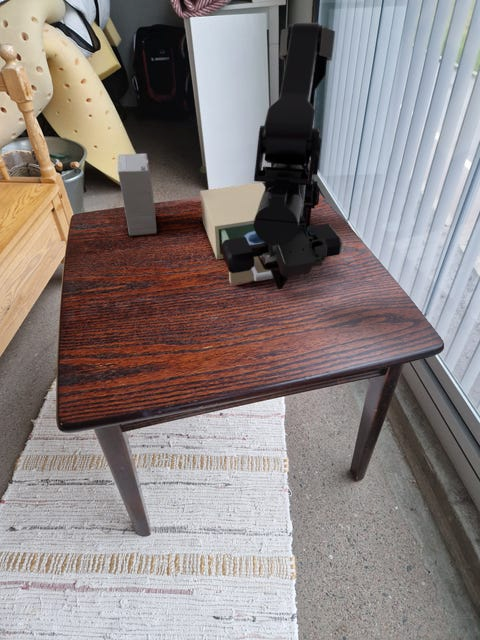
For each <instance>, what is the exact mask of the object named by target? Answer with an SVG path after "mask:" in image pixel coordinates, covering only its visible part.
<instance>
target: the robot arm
mask: <svg viewBox="0 0 480 640" xmlns="http://www.w3.org/2000/svg"><path fill="white" fill-rule="evenodd" d="M335 34H336V31H335V30H333V29H329V26H324V25H323V24H320V23H319V22H293V23H292V24H288V27H286V28H284V29H281V31H280V43H279V55H278V56H279V58H280V59H281V60H284V71H283V76H282V80H281V81H282V82H281V87H280V92H279V98H278V99H277V100H276V101H275V102H274V103H272V104H271V105H270V106H269V107H268V108H267V112H266V116H265V121H264V125H259V131H258V136H257V137H258V138H257V146H256V147H257V149H256V156H255V167H254V175H253V181H254V182H257V183H261V182H262V183H265V184H264V186H265V191H264V193H263V195H262V198H261V201H260V204H259V207H258V210H257V213H256V216H255V219H254V230H255V232H256V234H257V235H258V237H259V238H260V239H261V240H263V241H264V242H261V243H255V244H249V243H248V241H247V239H246V237H240V238H234V239H228V240H225V241H224V242H223V244H222V255H223V257H224V258H223V260H224V262H225V265H226V267H227V270H228V273H229V272H231V273H238V272H244V271H250V270H251V269H252V268H253V267H254V257H257V256H258V258H259V260H260V262H261V264H262V266H263V268H264V269H265V270H270V271H271V274H272V277H273V278H272V279H273V282H274V285H275V286H276V289H277V290H283V288H284V286H285V285H286V283H287V281H288V279H289V278H292V277H295V276H301V275H303V276H304V275H308V274H310V273H311V271H312V269H313V267H318V266H322V264H323V262H324V261H325V260H326V258H329V257H335V256H339V255H340V254H341V253H342V248H343V239H342V238H341V237H340V236H339V234H338V233H337V232H336V230H335V229H334V228H333V227H332V226H331V224H329V223H323V224H321V223H320V224H316V225H315V224H314V225H311V217H312V216H311V215H312V209H315V208H316V206H318V205H319V202H320V194H321V188H320V186H319V181H318V180H316V176H318V174H319V173H318V172H319V165H320V158H321V151H322V150H321V149H322V143H323V141H322V140H323V138H322V136H321V135H320V132H321V131H320V130H319V128H315V119H316V117H315V116H316V109H315V105H316V95H317V88H318V87H319V86H320V84H321V82H322V81H323V80H324V78H325V77H326V75H327V69H328V63H329V62H331V61H333V56H334V55H333V53H334V47H335V39H336V38H335V37H336V35H335ZM263 161H265V162H266V164H274V165H273V166H263Z"/></svg>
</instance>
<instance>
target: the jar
mask: <svg viewBox="0 0 480 640" xmlns="http://www.w3.org/2000/svg"><path fill="white" fill-rule="evenodd" d="M244 237H246V239H247V241H248V243H249V244H255V243H261V242H264V241H263V240H261V239H260V238H259V237H258V235H257V234H256V232H255V231H253V232H249V233H247V234H246V235H245V236H244Z"/></svg>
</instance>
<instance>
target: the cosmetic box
mask: <svg viewBox="0 0 480 640" xmlns="http://www.w3.org/2000/svg"><path fill="white" fill-rule="evenodd" d="M148 158H149V157H148V154H147V153H124V154H118V155H117V175H118V178H119V179H118V180H119V184H120V190H121V196H122V202H123V206H124V208H123V209H124V212H125V218H126V224H127V225H126V226H127V229H128V235H129V236H130V237H131V236H142V235H152V234H157V220H156V210H155V209H156V208H155V200H154V190H153V183H152V177H151V171H150V165H149V163H150V162H149V159H148Z"/></svg>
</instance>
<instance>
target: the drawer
mask: <svg viewBox="0 0 480 640" xmlns="http://www.w3.org/2000/svg"><path fill="white" fill-rule="evenodd" d="M253 231H255V230H254V224H249V225H242V226H236V227H229V228H223V229H219V243H220V249H221V251H222V244H223V242H224V241H225V240H228V239H234V238H240V237H244V236H245V235H246V234H247V233H249V232H253ZM272 279H273V277H272V274H271V271H270V270H265V269H264V268H263V266H262V264H261V262H260V260H259V258H258V256H257V257H254V267H253V268H252V269H251V270H250V271H244V272H238V273H231V272H229V271H228V282H229V284H230V285H236V284H240V283H241V284H242V283H247V282H252V281H254V282H260V281H261V282H262V281H266V280H272Z"/></svg>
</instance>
